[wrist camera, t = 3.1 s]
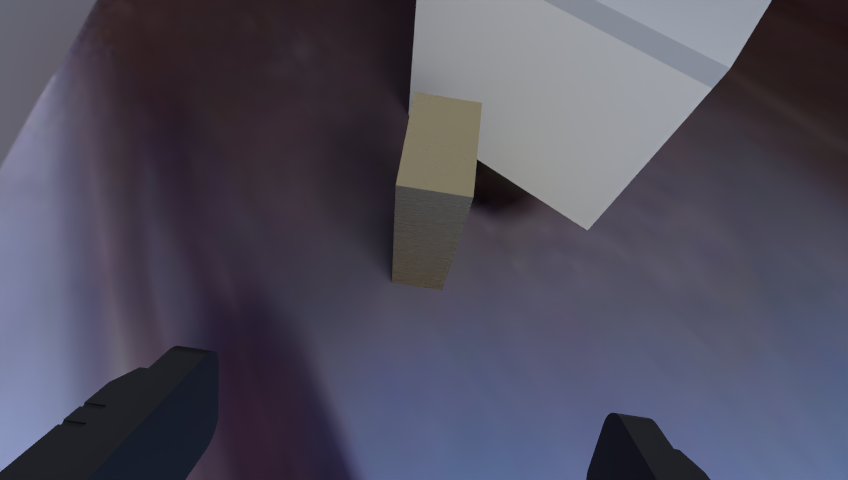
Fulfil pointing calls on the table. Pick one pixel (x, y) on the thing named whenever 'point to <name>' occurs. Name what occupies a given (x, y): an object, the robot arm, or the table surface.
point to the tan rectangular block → (434, 187)
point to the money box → (577, 83)
